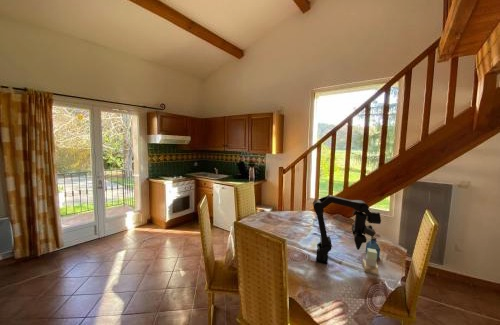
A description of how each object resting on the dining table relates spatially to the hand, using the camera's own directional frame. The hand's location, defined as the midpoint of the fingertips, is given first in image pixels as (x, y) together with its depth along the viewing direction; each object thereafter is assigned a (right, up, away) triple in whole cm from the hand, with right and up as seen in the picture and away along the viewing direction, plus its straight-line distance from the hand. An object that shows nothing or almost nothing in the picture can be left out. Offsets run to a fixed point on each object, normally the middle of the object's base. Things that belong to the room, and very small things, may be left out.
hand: (357, 245), depth 130 cm
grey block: (+6, -9, -3) cm, 12 cm away
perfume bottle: (+17, -11, +13) cm, 24 cm away
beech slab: (+6, -13, -3) cm, 15 cm away
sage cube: (+6, -5, -4) cm, 9 cm away
